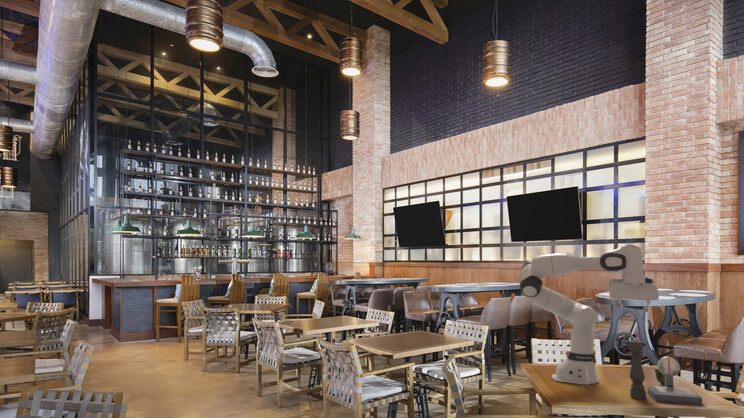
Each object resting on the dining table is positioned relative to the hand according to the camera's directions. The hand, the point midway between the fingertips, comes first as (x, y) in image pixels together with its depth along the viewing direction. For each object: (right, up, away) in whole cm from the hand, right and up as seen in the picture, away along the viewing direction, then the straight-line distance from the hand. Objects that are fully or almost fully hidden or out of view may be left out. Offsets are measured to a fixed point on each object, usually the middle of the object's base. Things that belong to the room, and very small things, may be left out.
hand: (634, 309), depth 224 cm
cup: (+23, -42, +15) cm, 50 cm away
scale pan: (+14, -36, -7) cm, 39 cm away
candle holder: (-1, -39, -5) cm, 40 cm away
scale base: (+15, -39, -6) cm, 42 cm away
